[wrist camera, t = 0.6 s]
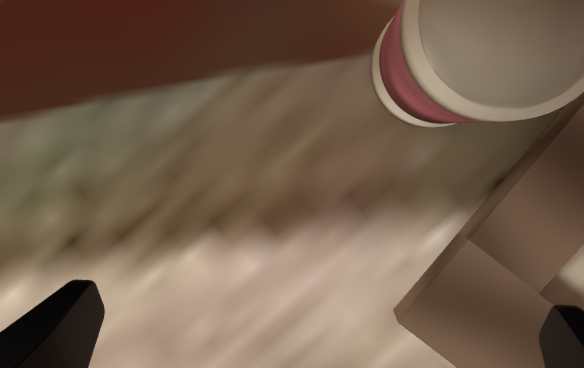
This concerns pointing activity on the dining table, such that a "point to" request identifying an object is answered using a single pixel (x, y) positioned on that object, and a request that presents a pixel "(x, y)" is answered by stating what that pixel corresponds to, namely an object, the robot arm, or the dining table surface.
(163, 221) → the dining table surface
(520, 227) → the brown flat piece
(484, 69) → the red and beige cylinder
